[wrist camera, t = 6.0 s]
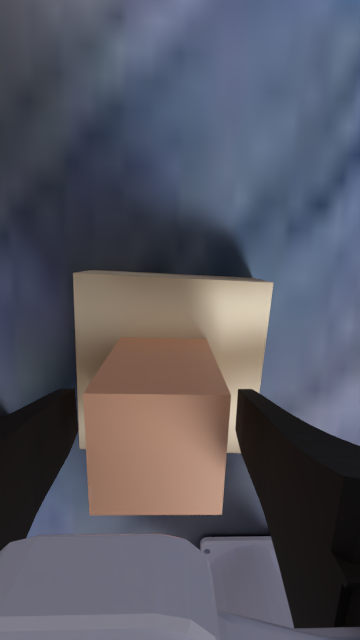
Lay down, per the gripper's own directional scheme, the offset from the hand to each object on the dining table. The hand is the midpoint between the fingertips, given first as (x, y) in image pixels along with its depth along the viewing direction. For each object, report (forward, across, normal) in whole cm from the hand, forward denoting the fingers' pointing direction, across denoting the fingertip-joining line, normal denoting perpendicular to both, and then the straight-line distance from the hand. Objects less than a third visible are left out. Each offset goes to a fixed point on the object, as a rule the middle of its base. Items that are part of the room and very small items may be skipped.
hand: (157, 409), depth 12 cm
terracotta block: (+3, 0, 0) cm, 3 cm away
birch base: (+7, 0, -1) cm, 7 cm away
